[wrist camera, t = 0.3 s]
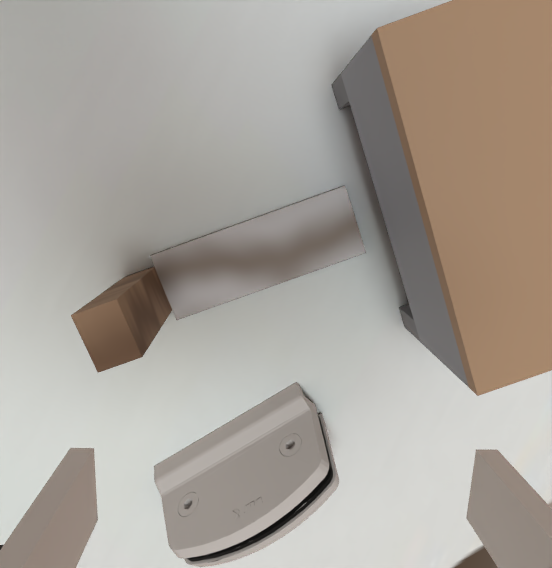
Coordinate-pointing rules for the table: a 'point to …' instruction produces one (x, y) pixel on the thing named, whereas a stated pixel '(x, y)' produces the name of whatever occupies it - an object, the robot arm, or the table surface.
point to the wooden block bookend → (217, 273)
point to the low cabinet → (465, 178)
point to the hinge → (247, 481)
